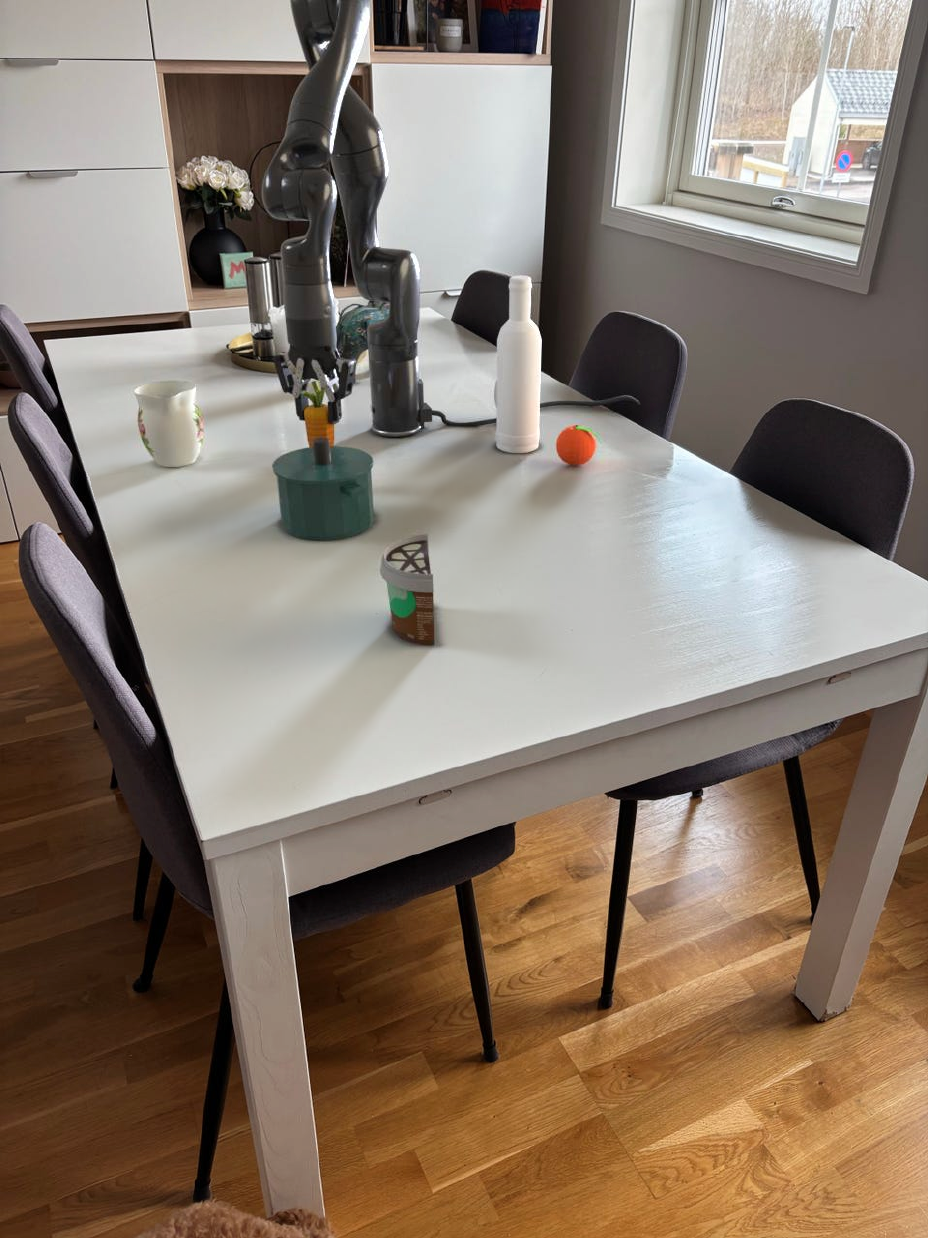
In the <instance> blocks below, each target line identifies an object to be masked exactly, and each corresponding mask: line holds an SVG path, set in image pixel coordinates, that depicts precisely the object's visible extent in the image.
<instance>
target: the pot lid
mask: <svg viewBox="0 0 928 1238" xmlns="http://www.w3.org/2000/svg"><path fill="white" fill-rule="evenodd" d="M373 467H374V459H373V457H372V455H371V454H369V453H368V452H366V451H365V450H362V449H359V448H355V447H350V446H344V445H343V446H342V445H334V446H330V444H329V439H328V438H316V439H314V440H313V447H309V446H308V447H303V448H298V449H296V450H292V451H289V452H286V453H284V454H282V455H280V456H278V457H277V458H276V459H275V460H274V461H273V463H272V468H271V469H272V472H273V474H274V475H275V477H276V476H277V477H279V478H281V479H283V480H285V481H289V482H293V483H298V484H309V485H321V484H333V483H340V482H345V481H349V480H352V479H355V478H358V477H361V476H363V475H365V474H366V473H368V472H369V471H370V470H371V471H372V469H373Z"/></svg>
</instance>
